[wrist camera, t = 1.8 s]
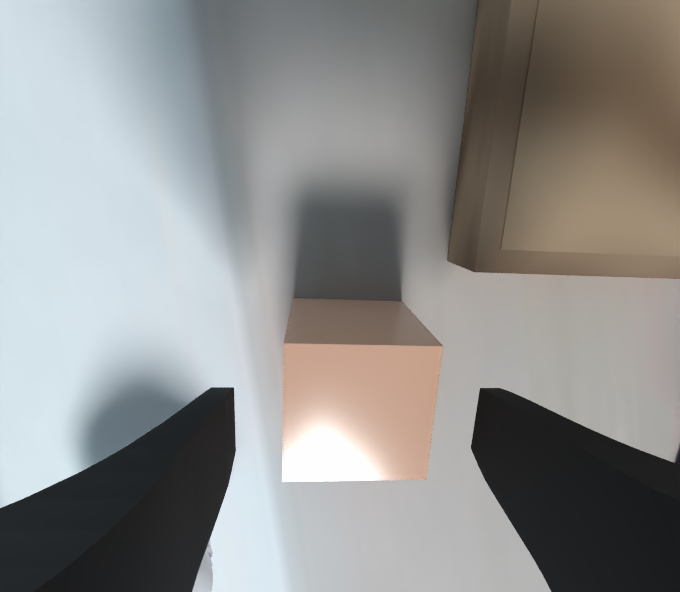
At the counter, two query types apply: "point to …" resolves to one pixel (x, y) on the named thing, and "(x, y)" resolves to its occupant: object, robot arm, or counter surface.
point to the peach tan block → (357, 391)
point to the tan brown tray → (571, 140)
